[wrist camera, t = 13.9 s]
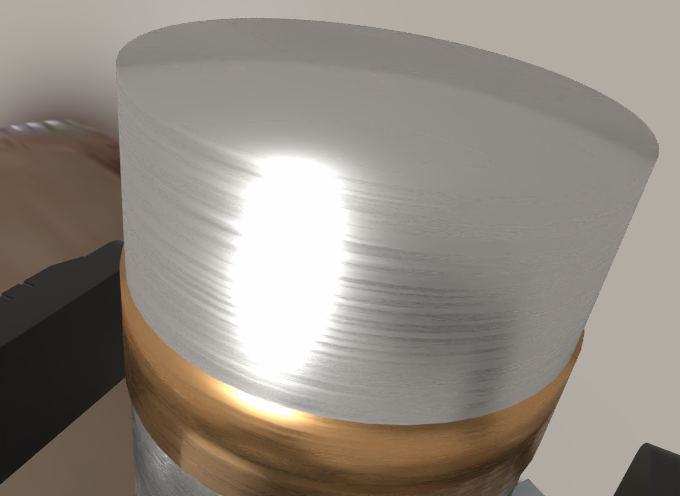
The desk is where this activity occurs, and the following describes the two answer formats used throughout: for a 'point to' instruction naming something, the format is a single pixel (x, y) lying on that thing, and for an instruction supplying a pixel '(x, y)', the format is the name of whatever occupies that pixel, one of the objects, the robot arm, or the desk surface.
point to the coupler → (356, 256)
